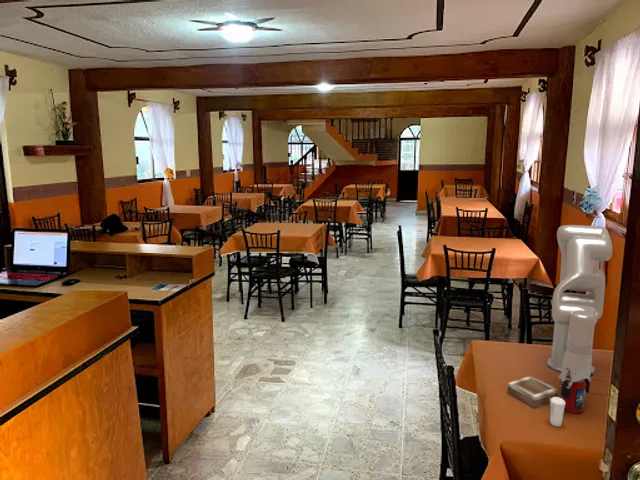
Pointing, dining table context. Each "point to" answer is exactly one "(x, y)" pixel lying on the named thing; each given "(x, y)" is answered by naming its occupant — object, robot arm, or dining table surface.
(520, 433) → the dining table surface
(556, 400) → the milkshake
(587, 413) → the dining table surface
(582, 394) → the beverage can
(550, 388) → the white square tray
